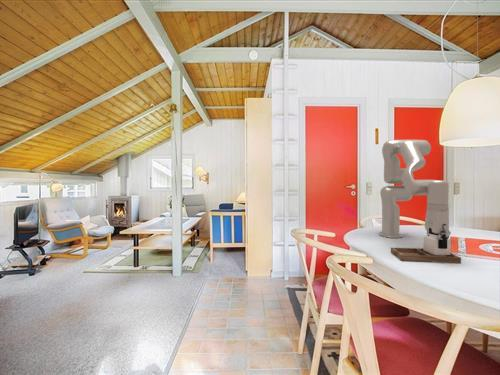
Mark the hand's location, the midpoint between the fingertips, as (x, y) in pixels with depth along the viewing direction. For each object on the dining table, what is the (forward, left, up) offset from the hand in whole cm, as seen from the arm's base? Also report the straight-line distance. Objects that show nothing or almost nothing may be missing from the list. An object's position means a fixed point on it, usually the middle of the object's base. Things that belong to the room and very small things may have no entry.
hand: (436, 245), depth 107 cm
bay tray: (0, -6, -6) cm, 8 cm away
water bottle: (-33, +20, -6) cm, 39 cm away
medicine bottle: (0, 0, -4) cm, 4 cm away
